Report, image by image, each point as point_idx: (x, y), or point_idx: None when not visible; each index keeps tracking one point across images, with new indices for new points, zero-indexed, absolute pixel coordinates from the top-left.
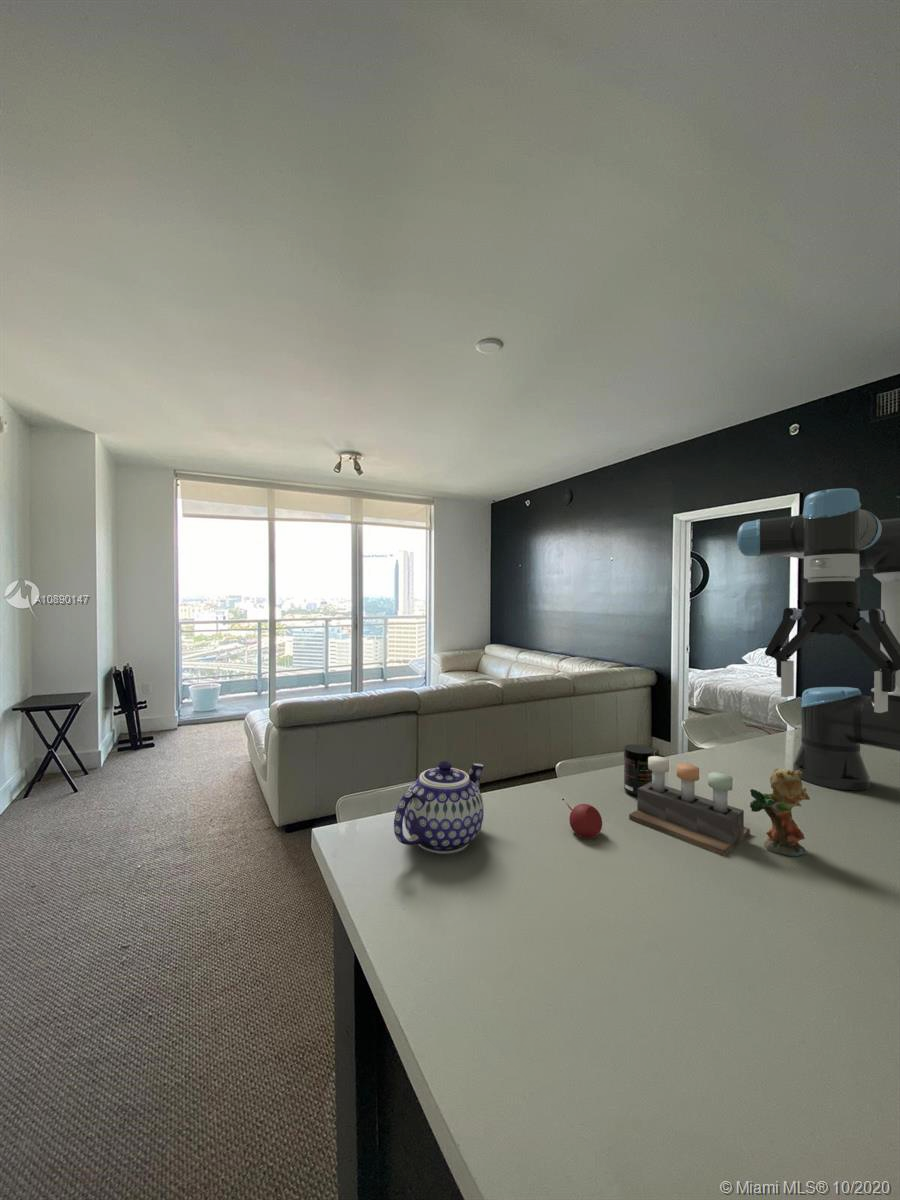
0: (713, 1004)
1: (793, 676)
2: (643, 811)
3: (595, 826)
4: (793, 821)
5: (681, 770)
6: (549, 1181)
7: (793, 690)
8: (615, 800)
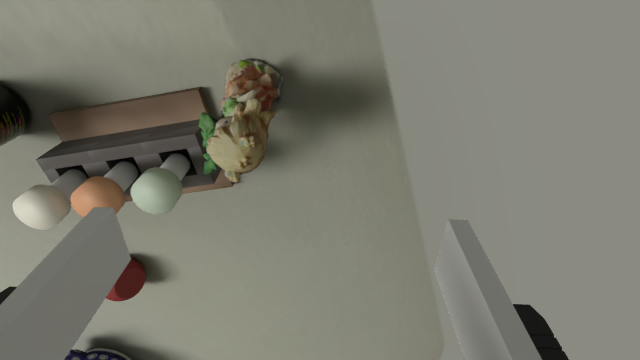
0: (356, 338)
1: (50, 278)
2: None
3: (139, 279)
4: (256, 96)
5: None
6: None
7: (99, 223)
8: (32, 168)
